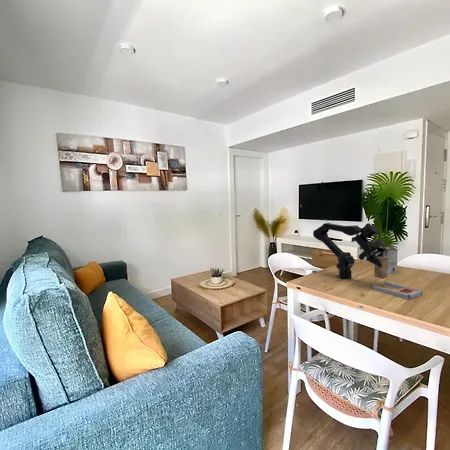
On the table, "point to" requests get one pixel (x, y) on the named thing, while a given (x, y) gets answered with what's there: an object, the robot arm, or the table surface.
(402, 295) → the u-shaped frame
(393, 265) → the coffee box
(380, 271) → the walnut block
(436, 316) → the table surface
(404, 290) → the rectangular frame
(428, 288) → the table surface
